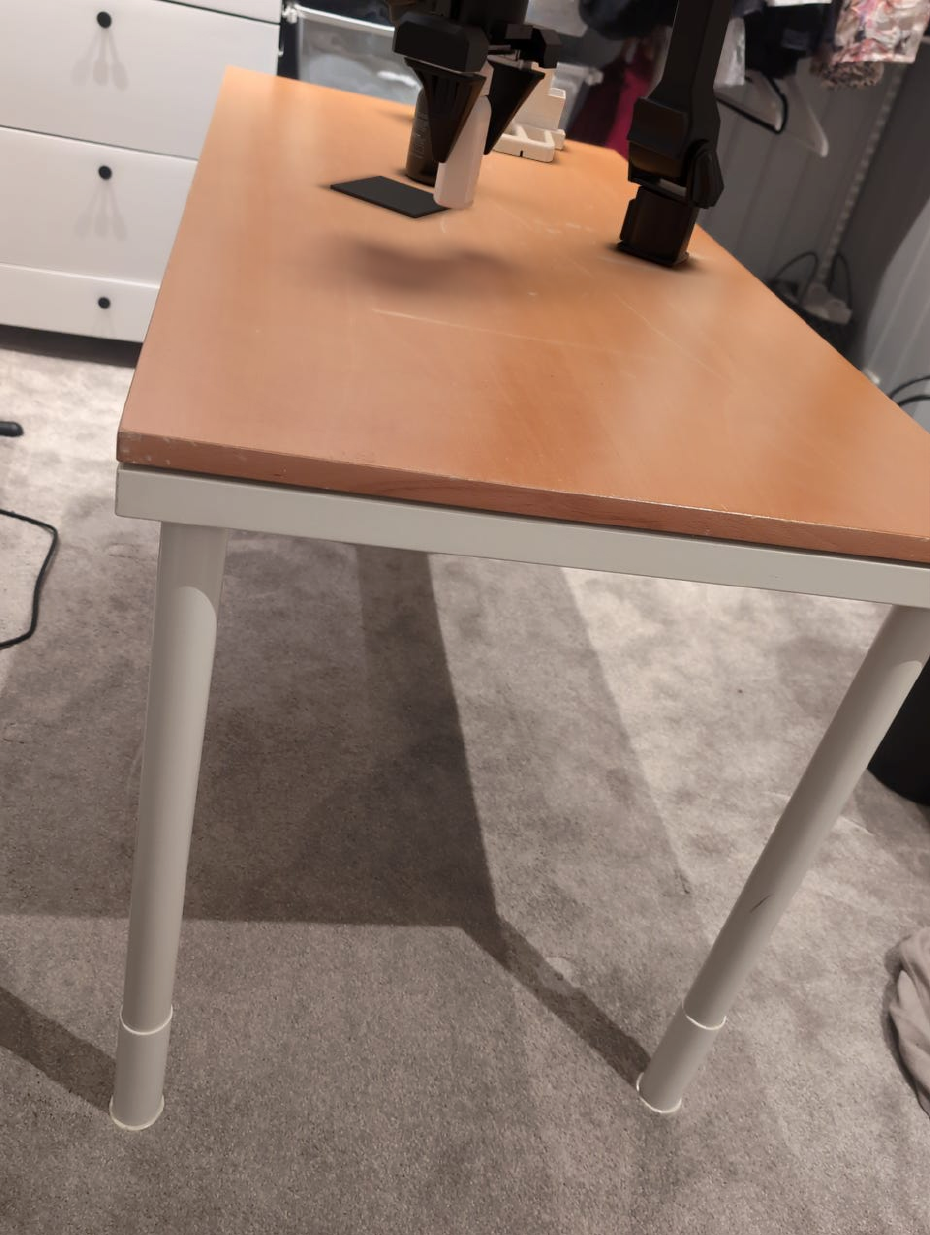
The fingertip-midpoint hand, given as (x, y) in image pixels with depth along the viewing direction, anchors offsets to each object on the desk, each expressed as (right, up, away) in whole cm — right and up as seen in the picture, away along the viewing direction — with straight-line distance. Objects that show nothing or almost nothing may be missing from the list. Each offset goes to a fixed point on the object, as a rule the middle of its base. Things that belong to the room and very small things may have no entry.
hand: (461, 157), depth 85 cm
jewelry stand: (+2, +29, +59) cm, 66 cm away
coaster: (-7, +6, +21) cm, 23 cm away
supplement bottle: (-3, +11, +31) cm, 34 cm away
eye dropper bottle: (-1, -3, +2) cm, 4 cm away
